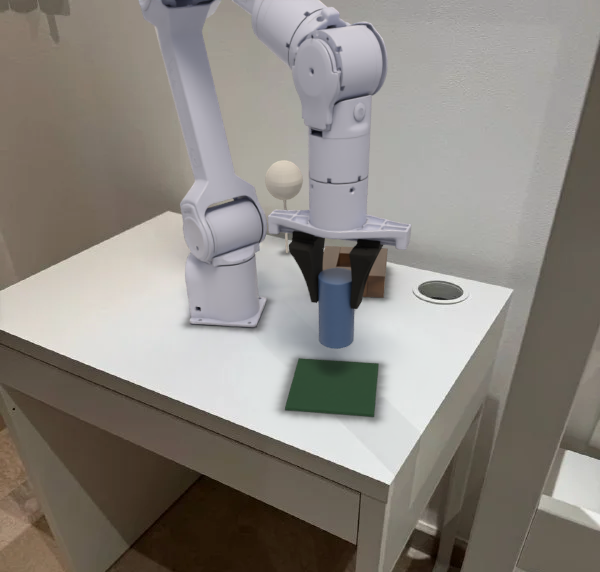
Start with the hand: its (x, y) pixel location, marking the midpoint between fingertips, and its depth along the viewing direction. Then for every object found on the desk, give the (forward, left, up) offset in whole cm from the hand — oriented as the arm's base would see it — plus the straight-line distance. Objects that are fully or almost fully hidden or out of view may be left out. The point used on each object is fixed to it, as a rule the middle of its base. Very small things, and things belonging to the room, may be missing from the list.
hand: (336, 301), depth 65 cm
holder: (0, +26, -10) cm, 28 cm away
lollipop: (-12, +35, -11) cm, 39 cm away
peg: (0, 0, -5) cm, 5 cm away
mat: (0, -2, -10) cm, 11 cm away
